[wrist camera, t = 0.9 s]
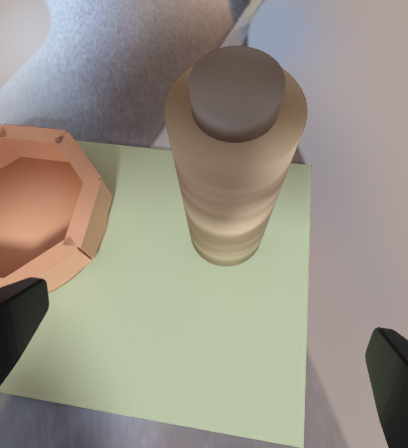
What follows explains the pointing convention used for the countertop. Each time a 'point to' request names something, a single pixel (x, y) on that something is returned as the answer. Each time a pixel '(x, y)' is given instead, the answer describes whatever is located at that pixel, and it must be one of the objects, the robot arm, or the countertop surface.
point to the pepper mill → (232, 147)
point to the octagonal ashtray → (48, 206)
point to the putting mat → (178, 314)
